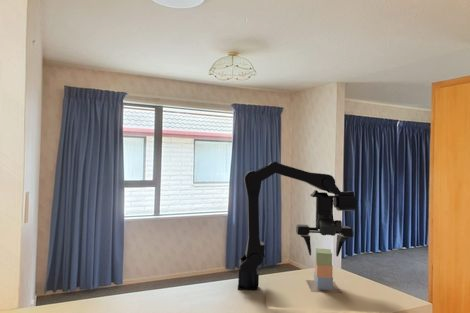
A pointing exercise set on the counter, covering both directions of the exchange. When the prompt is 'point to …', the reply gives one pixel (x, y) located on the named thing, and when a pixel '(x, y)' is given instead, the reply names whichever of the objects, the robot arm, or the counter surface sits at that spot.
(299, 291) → the counter surface
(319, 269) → the terracotta brick
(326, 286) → the base brick
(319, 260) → the olive brick
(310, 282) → the walnut board
